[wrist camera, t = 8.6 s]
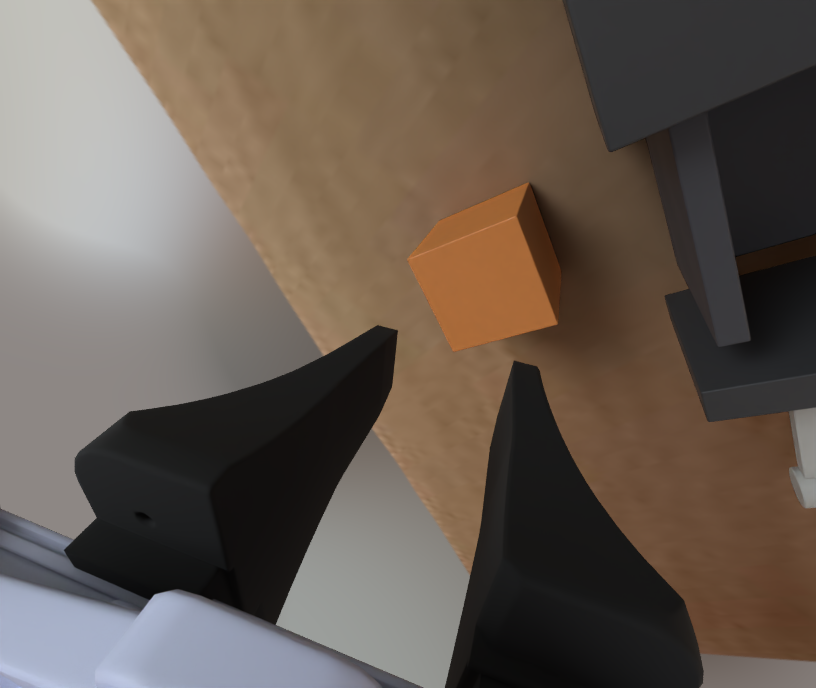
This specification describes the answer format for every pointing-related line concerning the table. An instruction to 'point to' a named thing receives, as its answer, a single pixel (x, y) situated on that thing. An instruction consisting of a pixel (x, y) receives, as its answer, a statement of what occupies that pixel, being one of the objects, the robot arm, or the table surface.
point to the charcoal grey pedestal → (683, 56)
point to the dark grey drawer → (740, 234)
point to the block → (490, 271)
